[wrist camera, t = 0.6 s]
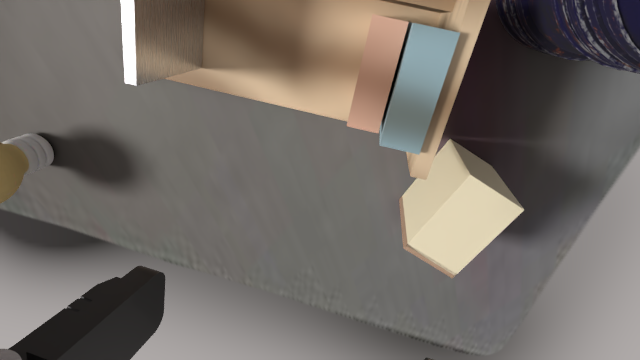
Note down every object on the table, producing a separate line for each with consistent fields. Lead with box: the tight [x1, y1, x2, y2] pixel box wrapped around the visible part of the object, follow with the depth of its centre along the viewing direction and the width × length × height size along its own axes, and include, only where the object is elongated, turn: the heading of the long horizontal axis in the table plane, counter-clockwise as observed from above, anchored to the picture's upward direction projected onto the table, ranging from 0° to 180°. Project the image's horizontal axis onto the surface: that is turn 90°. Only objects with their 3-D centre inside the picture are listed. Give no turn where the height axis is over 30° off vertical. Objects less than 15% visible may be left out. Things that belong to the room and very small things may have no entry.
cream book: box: [399, 139, 524, 278], centre depth 29 cm, size 7×4×8 cm, turn 149°
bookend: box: [121, 0, 205, 86], centre depth 25 cm, size 7×4×9 cm, turn 169°
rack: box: [164, 0, 491, 180], centre depth 25 cm, size 10×25×10 cm, turn 79°
